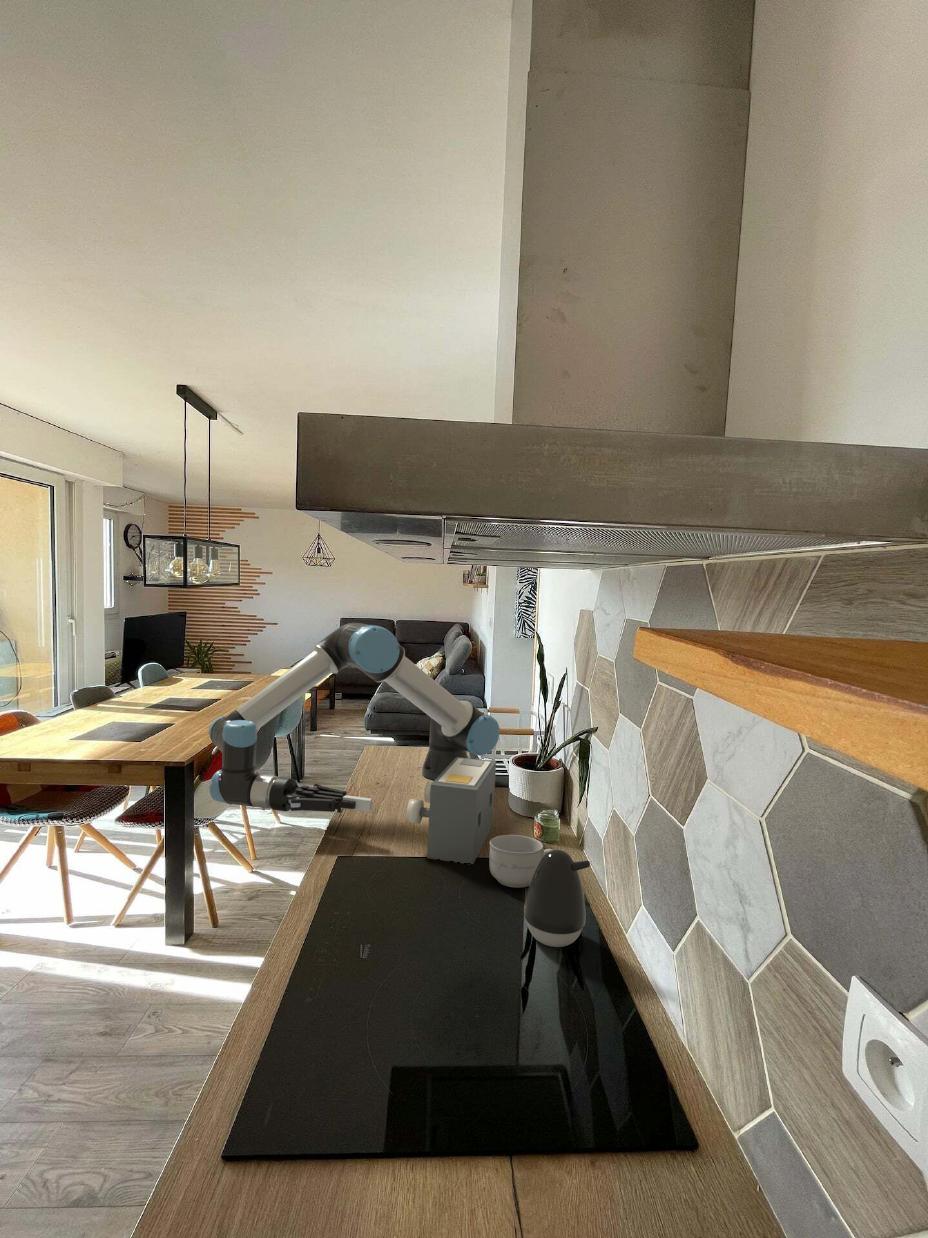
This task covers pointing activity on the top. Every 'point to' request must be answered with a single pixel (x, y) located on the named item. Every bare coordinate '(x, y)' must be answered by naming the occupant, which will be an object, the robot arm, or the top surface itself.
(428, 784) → the unmarked button
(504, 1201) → the top surface
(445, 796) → the box
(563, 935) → the pump dispenser
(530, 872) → the teacup
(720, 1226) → the top surface
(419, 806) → the marked button
